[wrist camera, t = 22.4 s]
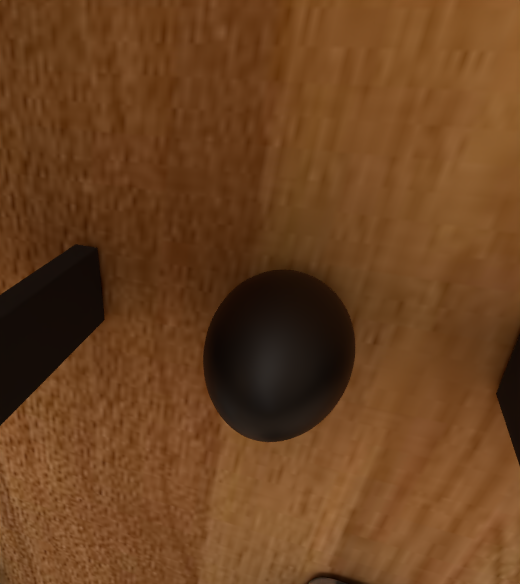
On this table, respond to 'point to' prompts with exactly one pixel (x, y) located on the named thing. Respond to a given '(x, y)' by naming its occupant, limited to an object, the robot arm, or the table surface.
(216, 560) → the table surface
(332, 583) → the camera
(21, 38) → the table surface
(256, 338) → the egg
